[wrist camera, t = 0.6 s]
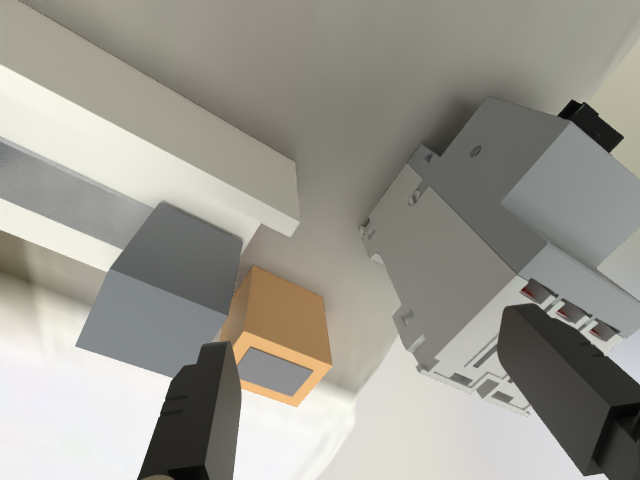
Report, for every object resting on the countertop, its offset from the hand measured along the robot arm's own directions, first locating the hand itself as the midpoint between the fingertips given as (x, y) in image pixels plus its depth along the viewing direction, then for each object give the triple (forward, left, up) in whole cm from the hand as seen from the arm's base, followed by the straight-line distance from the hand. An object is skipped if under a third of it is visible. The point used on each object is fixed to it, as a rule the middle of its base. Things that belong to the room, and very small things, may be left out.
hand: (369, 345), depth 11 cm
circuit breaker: (-4, +10, -19) cm, 21 cm away
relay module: (+13, +4, -19) cm, 23 cm away
